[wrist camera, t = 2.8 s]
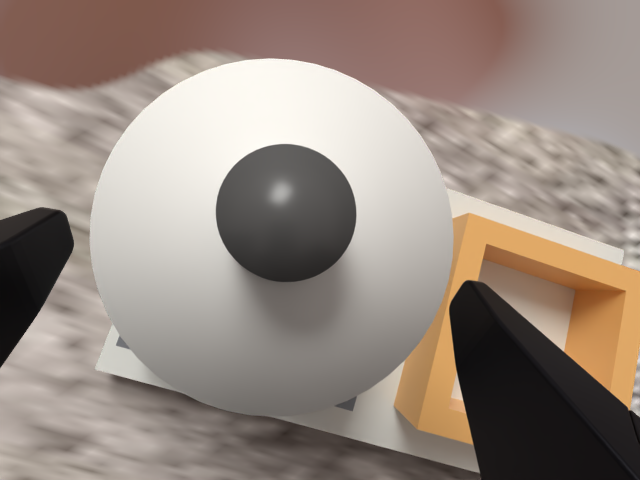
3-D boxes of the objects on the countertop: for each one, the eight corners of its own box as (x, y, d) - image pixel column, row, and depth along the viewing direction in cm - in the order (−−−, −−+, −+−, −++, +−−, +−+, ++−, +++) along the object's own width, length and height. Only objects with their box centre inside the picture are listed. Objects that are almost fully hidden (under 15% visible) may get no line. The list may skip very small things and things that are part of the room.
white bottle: (309, 332, 15) (443, 510, 3) (205, 301, 15) (-59, 382, 3) (339, 232, 16) (537, 89, 4) (241, 200, 15) (143, -66, 4)
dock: (564, 488, 17) (639, 540, 13) (106, 363, 15) (56, 387, 11) (605, 251, 19) (680, 245, 15) (203, 111, 17) (185, 67, 13)
